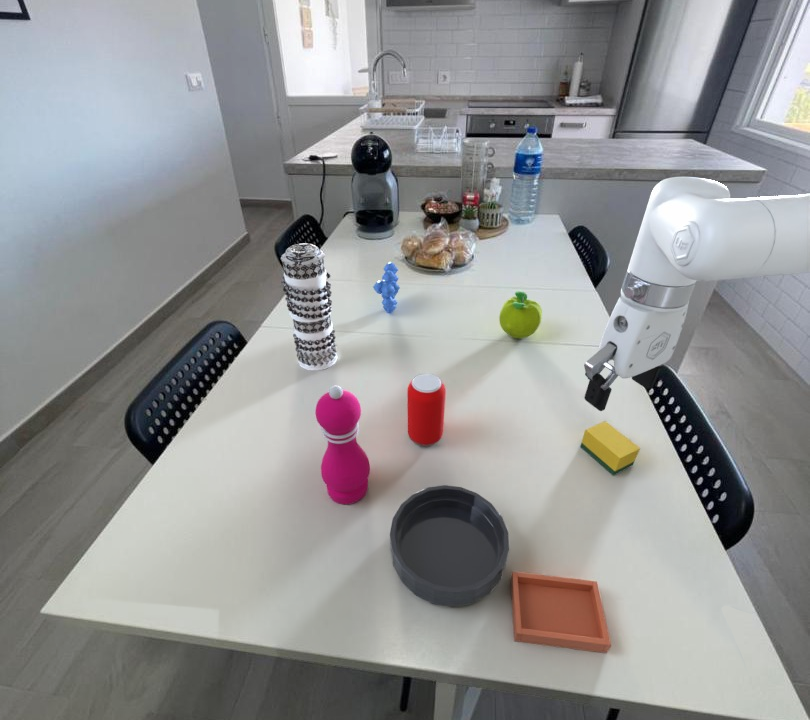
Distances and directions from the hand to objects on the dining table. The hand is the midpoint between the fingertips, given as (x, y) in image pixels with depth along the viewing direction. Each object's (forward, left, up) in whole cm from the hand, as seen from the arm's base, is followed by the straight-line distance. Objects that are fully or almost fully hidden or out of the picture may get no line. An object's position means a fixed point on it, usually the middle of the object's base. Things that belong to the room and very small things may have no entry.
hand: (618, 394), depth 64 cm
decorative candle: (+49, +31, -14) cm, 59 cm away
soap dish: (-15, +23, -14) cm, 31 cm away
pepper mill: (+14, +38, -14) cm, 43 cm away
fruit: (+36, -13, -14) cm, 41 cm away
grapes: (+62, +8, -14) cm, 64 cm away
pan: (-2, +30, -14) cm, 33 cm away
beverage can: (+18, +22, -14) cm, 31 cm away
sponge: (0, -2, -14) cm, 14 cm away
